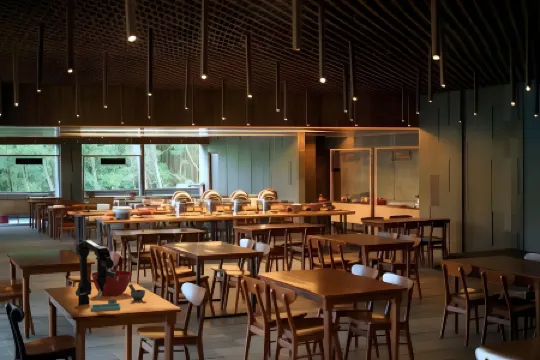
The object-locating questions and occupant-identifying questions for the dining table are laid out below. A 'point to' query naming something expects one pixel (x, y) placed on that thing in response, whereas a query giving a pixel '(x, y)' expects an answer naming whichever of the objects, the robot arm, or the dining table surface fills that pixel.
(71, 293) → the dining table surface
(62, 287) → the dining table surface
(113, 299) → the grey cup
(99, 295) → the birch pin
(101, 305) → the teal tray
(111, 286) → the mixing bowl
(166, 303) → the dining table surface
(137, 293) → the mortar and pestle
